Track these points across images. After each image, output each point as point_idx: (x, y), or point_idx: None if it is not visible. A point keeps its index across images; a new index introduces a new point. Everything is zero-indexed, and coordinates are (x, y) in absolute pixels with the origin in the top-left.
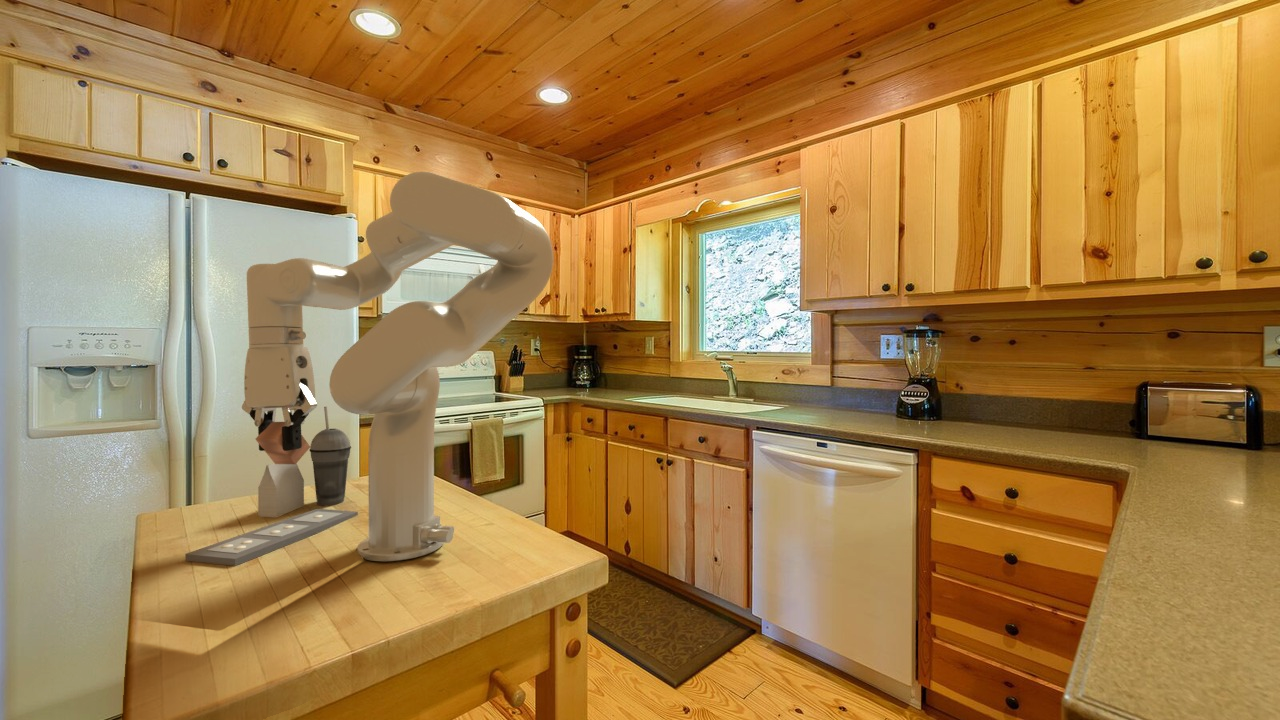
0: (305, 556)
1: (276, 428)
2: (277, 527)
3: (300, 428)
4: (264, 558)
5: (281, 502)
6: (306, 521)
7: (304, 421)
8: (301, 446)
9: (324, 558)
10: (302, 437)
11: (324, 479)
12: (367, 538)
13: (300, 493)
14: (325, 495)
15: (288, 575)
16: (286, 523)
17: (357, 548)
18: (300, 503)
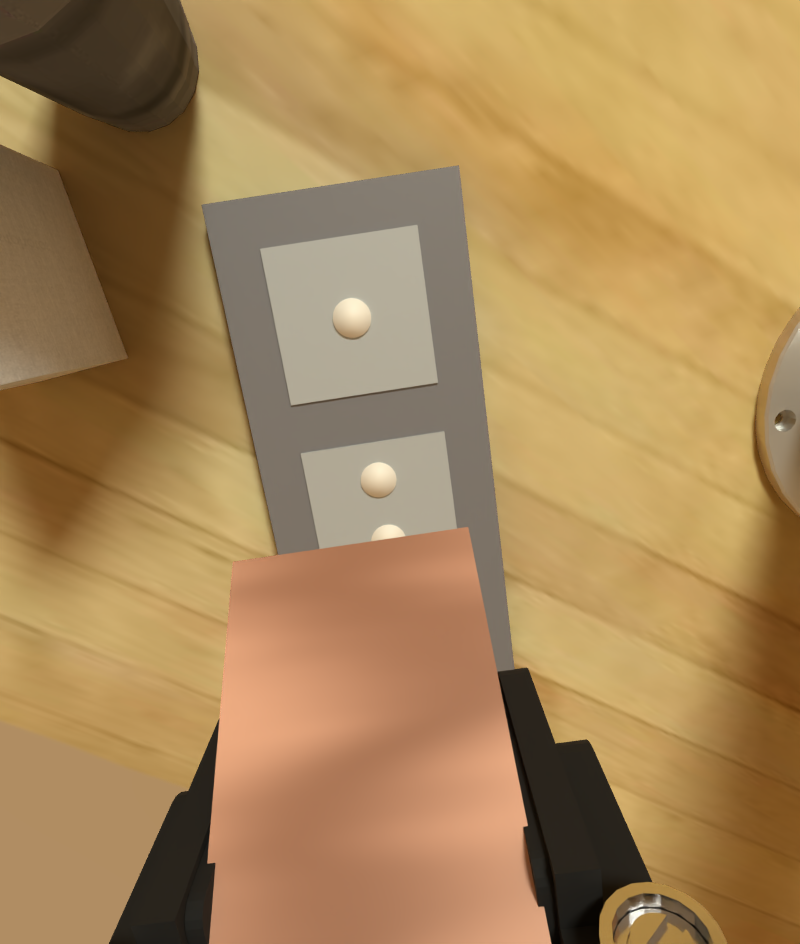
0: (653, 603)
1: None
2: (338, 499)
3: (642, 866)
4: (540, 660)
5: (81, 331)
6: (372, 393)
7: (710, 917)
8: (525, 668)
9: (728, 592)
10: (497, 677)
11: (104, 73)
12: (772, 433)
13: (12, 176)
14: (146, 103)
15: (730, 712)
16: (310, 442)
17: (797, 512)
18: (46, 189)
